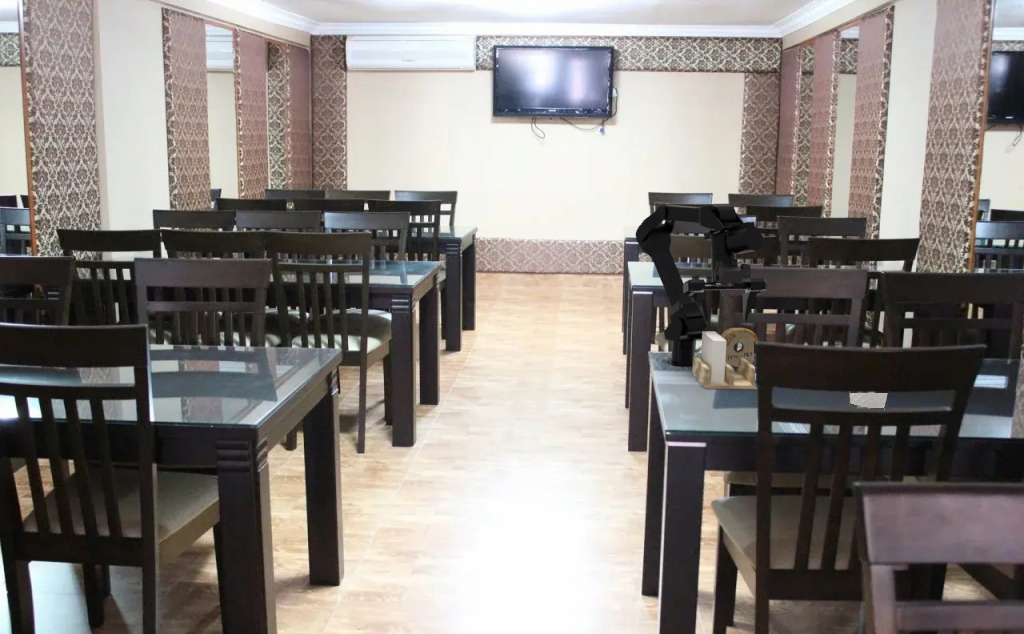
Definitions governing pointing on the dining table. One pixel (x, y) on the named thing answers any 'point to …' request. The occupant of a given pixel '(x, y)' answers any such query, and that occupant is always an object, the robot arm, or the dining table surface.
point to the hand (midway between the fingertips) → (726, 322)
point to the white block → (714, 355)
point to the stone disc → (745, 339)
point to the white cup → (868, 399)
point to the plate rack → (726, 375)
